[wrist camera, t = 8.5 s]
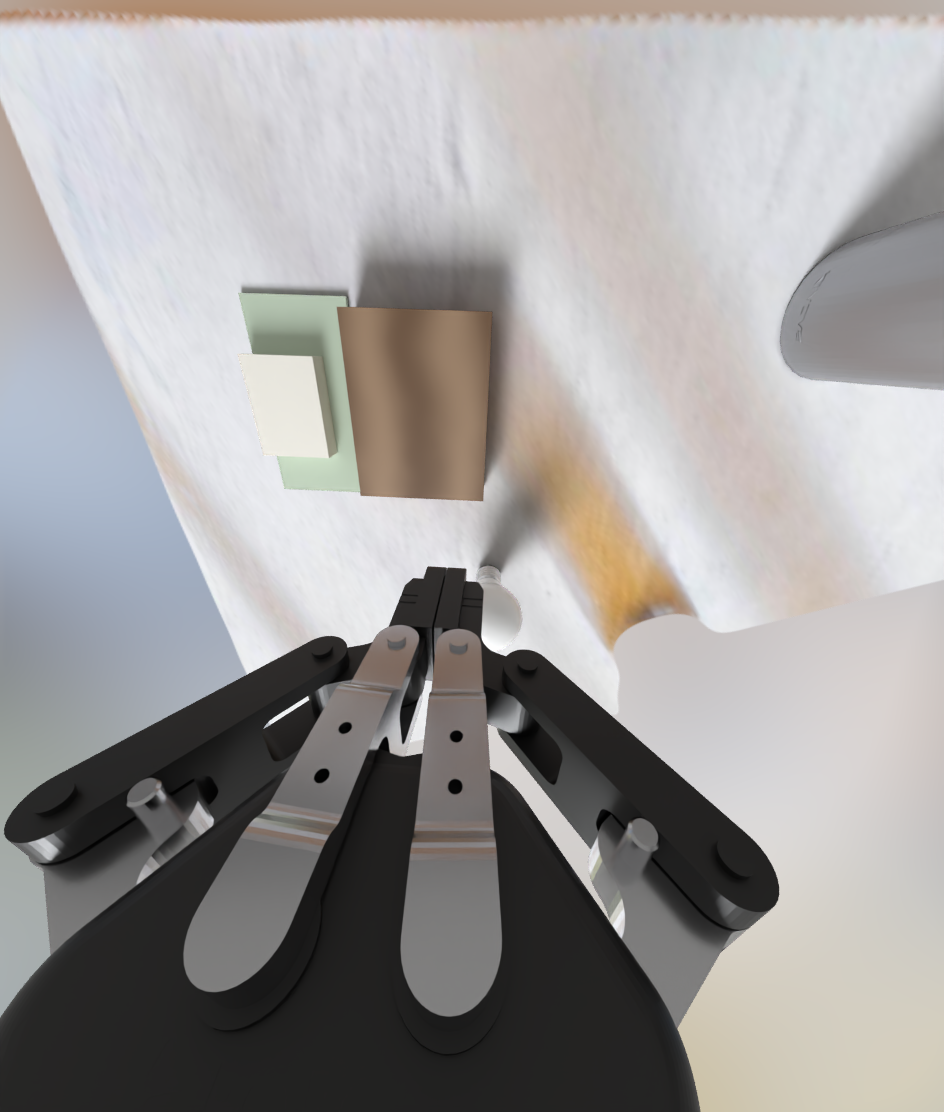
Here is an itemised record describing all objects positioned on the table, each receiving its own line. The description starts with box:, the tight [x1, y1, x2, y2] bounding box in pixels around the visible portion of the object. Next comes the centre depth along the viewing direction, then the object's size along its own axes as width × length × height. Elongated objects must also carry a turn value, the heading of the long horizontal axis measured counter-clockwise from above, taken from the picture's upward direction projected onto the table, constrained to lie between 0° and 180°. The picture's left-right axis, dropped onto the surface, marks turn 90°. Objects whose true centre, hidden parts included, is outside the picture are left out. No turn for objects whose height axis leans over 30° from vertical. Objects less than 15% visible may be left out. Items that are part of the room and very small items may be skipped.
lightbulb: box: [476, 566, 522, 652], centre depth 35 cm, size 6×6×11 cm
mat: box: [238, 293, 360, 492], centre depth 32 cm, size 8×16×1 cm, turn 178°
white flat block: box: [238, 354, 337, 458], centre depth 31 cm, size 6×8×2 cm
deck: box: [337, 307, 492, 501], centre depth 30 cm, size 11×14×4 cm
